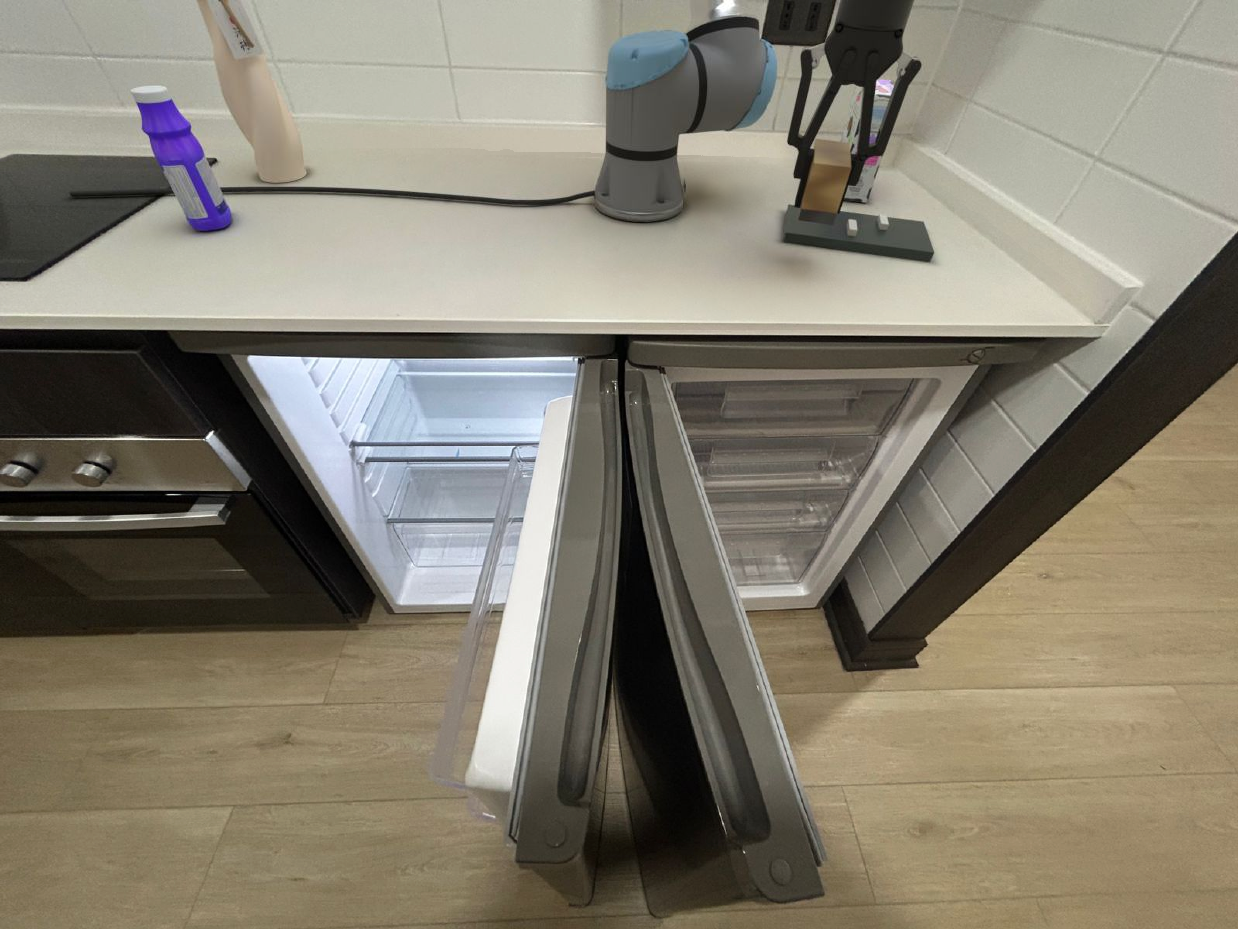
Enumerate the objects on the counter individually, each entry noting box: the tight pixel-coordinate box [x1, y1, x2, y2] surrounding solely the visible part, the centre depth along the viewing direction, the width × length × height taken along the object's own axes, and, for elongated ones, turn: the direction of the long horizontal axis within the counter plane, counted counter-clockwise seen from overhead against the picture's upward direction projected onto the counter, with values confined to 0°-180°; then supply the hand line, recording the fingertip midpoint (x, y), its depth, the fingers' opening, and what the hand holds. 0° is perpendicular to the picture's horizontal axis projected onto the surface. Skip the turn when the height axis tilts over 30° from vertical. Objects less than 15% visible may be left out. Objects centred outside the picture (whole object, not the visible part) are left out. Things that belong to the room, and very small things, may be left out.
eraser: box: [798, 138, 851, 225], centre depth 73 cm, size 4×10×7 cm, turn 165°
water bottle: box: [196, 0, 308, 184], centre depth 89 cm, size 10×9×28 cm
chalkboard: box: [783, 203, 935, 263], centre depth 89 cm, size 22×12×2 cm, turn 76°
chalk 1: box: [847, 219, 857, 236], centre depth 86 cm, size 4×1×1 cm, turn 166°
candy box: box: [840, 78, 895, 204], centre depth 98 cm, size 14×6×16 cm, turn 168°
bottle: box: [130, 85, 233, 232], centre depth 78 cm, size 7×6×17 cm
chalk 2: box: [877, 213, 889, 230], centre depth 88 cm, size 4×1×1 cm, turn 166°
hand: (816, 206), depth 75 cm, fingers closed on eraser, 4 cm apart
